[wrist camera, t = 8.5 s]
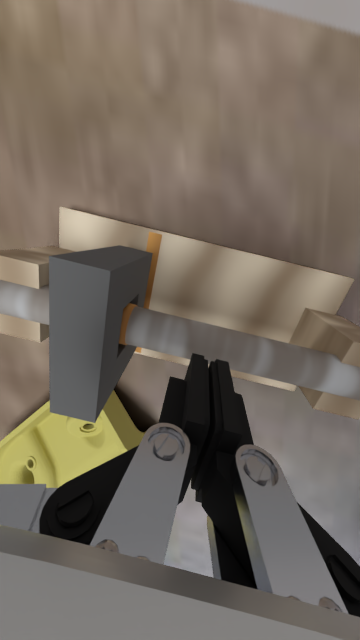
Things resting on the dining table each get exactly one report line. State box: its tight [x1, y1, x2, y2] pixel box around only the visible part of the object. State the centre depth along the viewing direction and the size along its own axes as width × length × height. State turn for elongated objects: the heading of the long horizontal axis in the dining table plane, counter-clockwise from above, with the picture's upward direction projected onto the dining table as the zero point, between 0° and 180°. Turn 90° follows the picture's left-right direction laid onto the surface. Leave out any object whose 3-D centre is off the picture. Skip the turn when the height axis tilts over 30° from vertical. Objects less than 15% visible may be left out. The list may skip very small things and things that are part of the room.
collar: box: [49, 245, 153, 423], centre depth 14 cm, size 2×8×8 cm, turn 167°
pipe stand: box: [0, 207, 360, 419], centre depth 16 cm, size 24×11×8 cm, turn 77°
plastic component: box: [0, 390, 146, 488], centre depth 26 cm, size 20×7×10 cm
